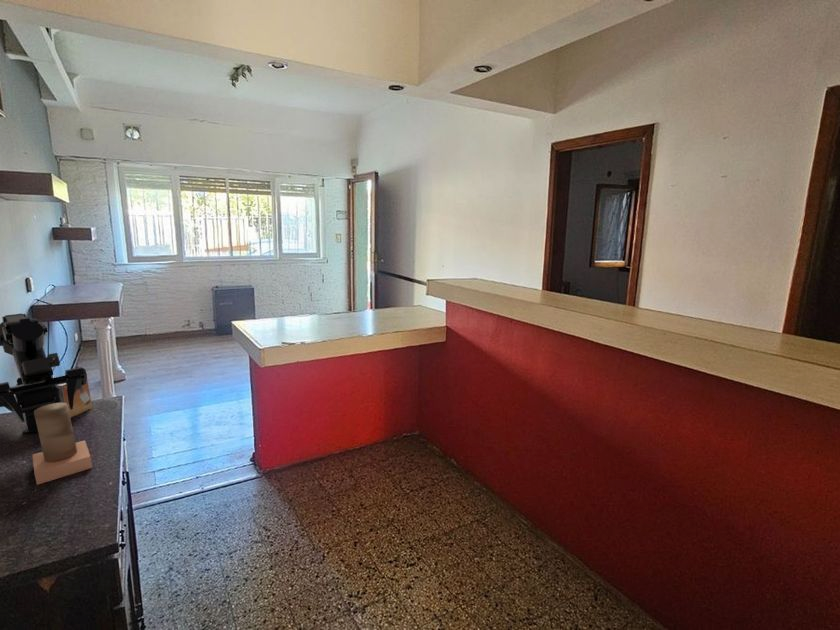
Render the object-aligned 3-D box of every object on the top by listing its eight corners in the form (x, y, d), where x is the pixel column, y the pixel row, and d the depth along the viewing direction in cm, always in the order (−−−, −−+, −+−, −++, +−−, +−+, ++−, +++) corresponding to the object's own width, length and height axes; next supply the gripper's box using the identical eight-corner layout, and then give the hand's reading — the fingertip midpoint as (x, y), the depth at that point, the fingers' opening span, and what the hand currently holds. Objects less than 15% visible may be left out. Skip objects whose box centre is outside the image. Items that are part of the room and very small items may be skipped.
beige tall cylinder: (54, 449, 105) (44, 403, 103) (82, 447, 106) (73, 401, 104) (38, 463, 100) (27, 414, 97) (67, 460, 101) (57, 412, 98)
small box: (67, 419, 127) (61, 385, 125) (52, 417, 128) (45, 384, 126) (93, 408, 135) (87, 376, 132) (78, 406, 136) (72, 374, 133)
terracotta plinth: (34, 466, 104) (32, 454, 103) (86, 451, 111) (84, 440, 110) (37, 484, 97) (34, 472, 96) (92, 467, 103) (90, 456, 103)
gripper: (-23, 353, 100) (-8, 413, 95) (78, 337, 113) (96, 388, 108) (-18, 377, 106) (-3, 433, 102) (77, 359, 120) (93, 408, 115)
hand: (48, 414), depth 107 cm, fingers open, 9 cm apart
